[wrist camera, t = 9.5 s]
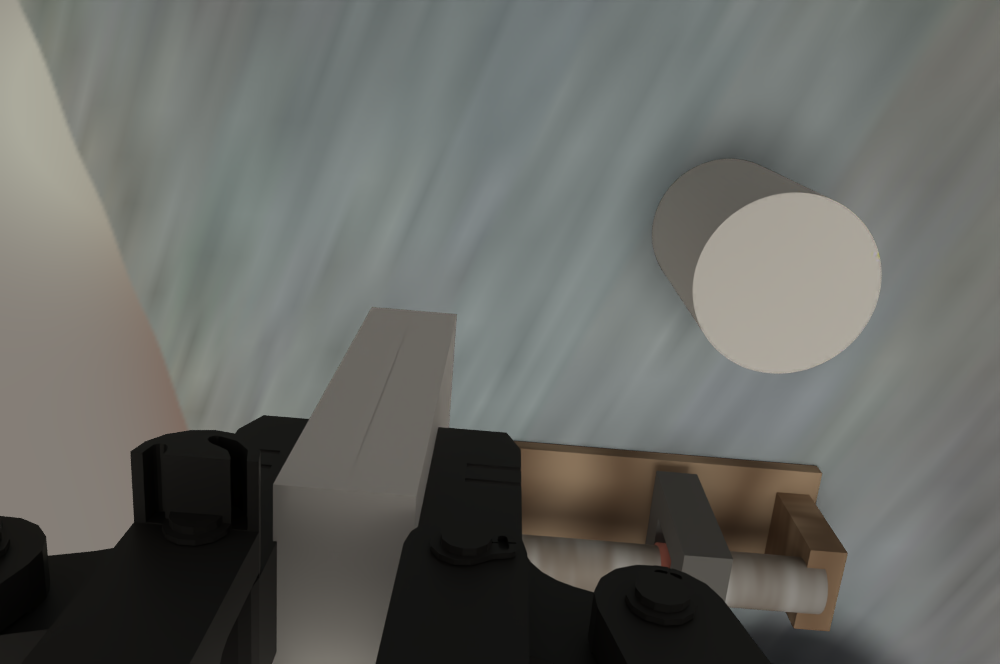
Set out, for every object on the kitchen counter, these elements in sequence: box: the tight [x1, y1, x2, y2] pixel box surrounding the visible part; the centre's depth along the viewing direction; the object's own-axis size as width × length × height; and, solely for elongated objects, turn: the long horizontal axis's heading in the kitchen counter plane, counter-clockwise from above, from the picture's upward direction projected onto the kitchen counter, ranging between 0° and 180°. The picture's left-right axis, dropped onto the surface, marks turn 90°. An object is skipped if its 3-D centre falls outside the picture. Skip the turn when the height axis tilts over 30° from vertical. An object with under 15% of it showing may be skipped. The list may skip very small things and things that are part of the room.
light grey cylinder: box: [652, 159, 881, 373], centre depth 44 cm, size 8×8×12 cm
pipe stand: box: [514, 441, 848, 631], centre depth 51 cm, size 26×8×9 cm, turn 85°
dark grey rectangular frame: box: [645, 471, 733, 602], centre depth 48 cm, size 2×8×9 cm, turn 175°
